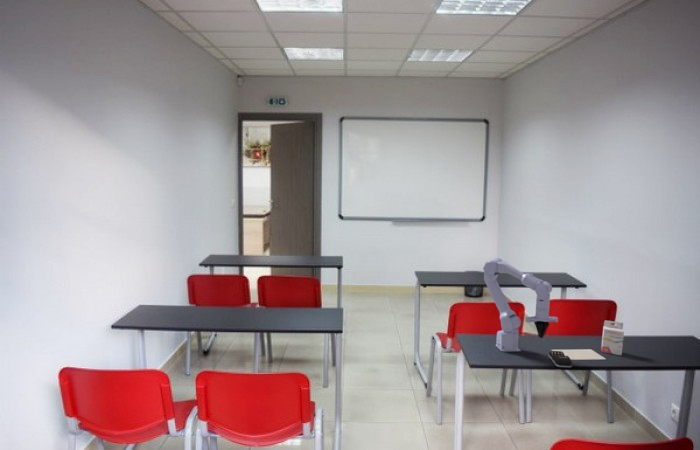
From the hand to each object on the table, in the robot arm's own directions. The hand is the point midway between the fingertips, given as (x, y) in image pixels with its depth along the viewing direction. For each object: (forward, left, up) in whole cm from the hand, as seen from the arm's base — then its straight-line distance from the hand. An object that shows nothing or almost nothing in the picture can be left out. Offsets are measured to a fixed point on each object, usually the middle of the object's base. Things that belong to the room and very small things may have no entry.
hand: (540, 337), depth 223 cm
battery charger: (+7, -2, -7) cm, 10 cm away
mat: (+19, +1, -9) cm, 22 cm away
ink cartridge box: (+38, +4, -10) cm, 39 cm away
